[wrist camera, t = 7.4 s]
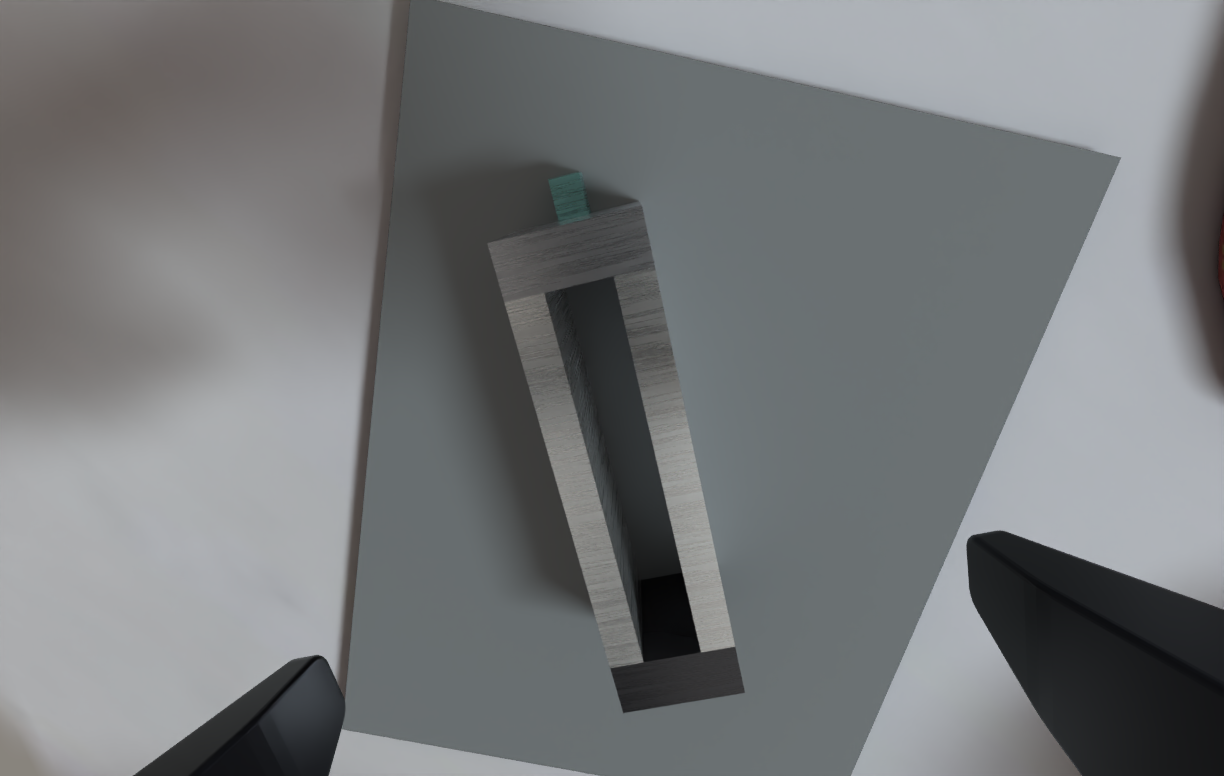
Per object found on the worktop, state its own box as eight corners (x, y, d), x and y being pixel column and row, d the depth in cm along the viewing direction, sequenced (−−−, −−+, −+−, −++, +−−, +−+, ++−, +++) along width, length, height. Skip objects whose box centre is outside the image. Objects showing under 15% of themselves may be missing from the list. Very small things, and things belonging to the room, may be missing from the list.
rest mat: (828, 804, 18) (832, 817, 18) (348, 717, 18) (342, 729, 17) (1106, 158, 13) (1120, 157, 12) (417, 0, 12) (410, -6, 12)
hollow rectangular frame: (745, 692, 13) (630, 153, 10) (623, 712, 13) (473, 193, 10) (725, 606, 16) (630, 160, 12) (623, 624, 16) (505, 191, 13)
